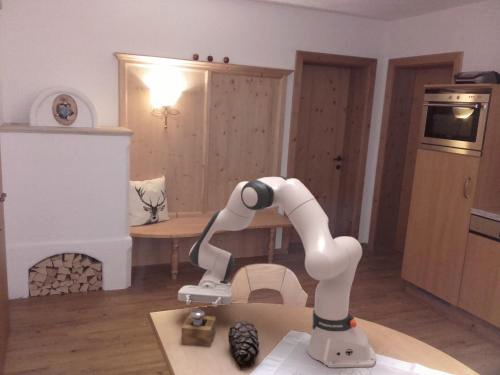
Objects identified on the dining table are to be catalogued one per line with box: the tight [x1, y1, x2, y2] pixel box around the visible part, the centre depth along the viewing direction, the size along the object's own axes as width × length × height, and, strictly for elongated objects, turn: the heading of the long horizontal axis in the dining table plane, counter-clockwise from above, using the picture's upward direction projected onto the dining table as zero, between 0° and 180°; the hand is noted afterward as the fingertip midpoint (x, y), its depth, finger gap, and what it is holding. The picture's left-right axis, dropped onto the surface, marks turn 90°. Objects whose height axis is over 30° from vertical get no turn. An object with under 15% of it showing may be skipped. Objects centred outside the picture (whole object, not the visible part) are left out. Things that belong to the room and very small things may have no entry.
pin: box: [190, 308, 206, 326], centre depth 156 cm, size 5×5×10 cm
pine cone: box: [227, 320, 260, 371], centre depth 147 cm, size 10×18×10 cm, turn 14°
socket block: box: [181, 314, 217, 347], centre depth 158 cm, size 10×10×6 cm
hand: (201, 304), depth 160 cm, fingers open, 8 cm apart
